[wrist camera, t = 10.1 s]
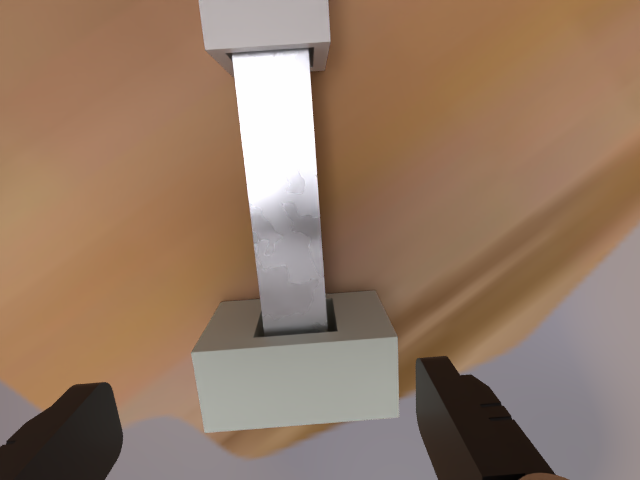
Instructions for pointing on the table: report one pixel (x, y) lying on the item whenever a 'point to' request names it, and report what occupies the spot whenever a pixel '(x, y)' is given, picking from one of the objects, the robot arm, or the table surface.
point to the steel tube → (282, 187)
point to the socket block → (297, 367)
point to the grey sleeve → (265, 28)
